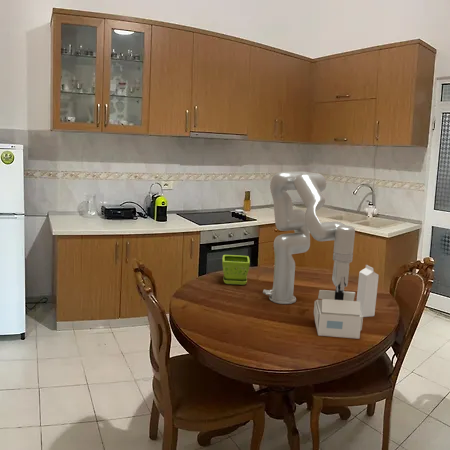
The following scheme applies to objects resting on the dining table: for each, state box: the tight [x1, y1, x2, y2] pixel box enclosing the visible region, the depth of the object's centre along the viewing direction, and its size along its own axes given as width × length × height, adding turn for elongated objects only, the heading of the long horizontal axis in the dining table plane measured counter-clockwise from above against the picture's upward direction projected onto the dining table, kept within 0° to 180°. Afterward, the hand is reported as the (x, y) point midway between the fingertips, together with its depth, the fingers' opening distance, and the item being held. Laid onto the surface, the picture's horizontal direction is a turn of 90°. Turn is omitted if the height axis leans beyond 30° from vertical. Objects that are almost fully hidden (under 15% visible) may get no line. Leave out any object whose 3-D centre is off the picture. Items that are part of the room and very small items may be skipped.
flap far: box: [317, 289, 356, 301], centre depth 204 cm, size 15×5×1 cm
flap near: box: [321, 299, 360, 315], centre depth 191 cm, size 15×5×1 cm
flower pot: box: [221, 254, 251, 286], centre depth 253 cm, size 14×14×13 cm
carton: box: [313, 299, 364, 340], centre depth 199 cm, size 17×16×9 cm
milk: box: [356, 264, 380, 318], centre depth 215 cm, size 6×6×22 cm
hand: (338, 300), depth 198 cm, fingers closed
